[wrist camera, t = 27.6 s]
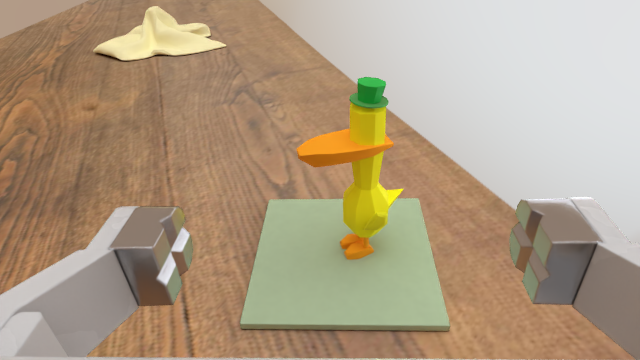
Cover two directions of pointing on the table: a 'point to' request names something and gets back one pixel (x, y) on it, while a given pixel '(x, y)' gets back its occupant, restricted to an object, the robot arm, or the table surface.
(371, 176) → the toy figure
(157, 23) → the cloth
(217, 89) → the table surface
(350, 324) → the felt mat
